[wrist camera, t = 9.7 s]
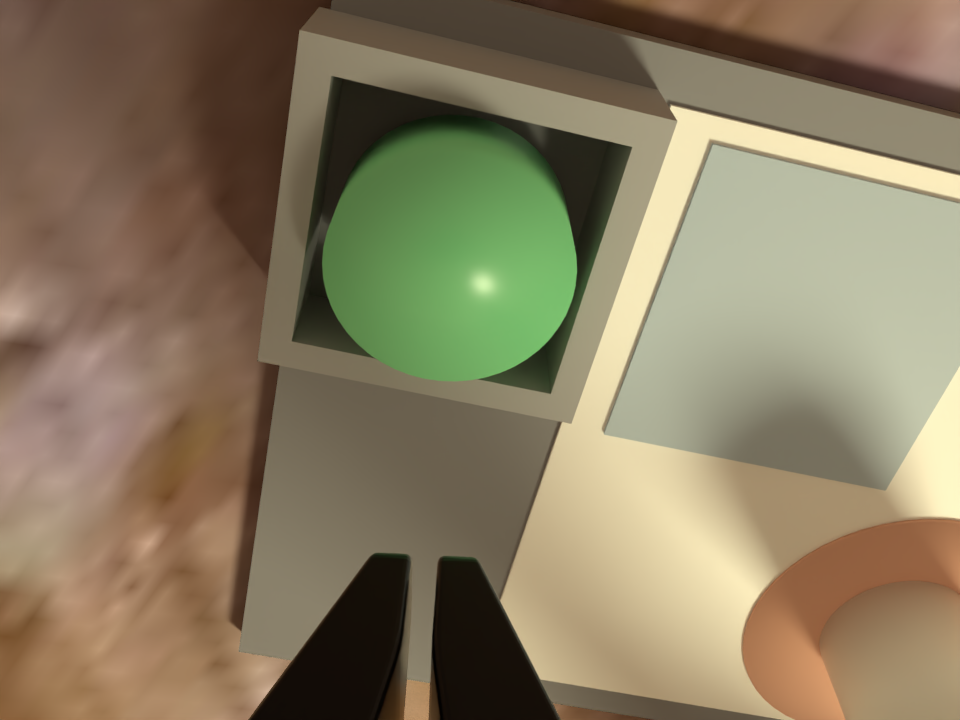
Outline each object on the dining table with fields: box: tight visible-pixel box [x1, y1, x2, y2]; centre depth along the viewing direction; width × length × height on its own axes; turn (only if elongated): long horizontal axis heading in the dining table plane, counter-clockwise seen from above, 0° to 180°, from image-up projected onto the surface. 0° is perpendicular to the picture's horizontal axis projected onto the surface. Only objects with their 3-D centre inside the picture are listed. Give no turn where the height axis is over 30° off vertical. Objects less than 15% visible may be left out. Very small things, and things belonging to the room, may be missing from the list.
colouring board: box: [239, 0, 960, 720], centre depth 21 cm, size 22×18×3 cm
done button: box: [322, 115, 577, 381], centre depth 17 cm, size 4×4×2 cm
